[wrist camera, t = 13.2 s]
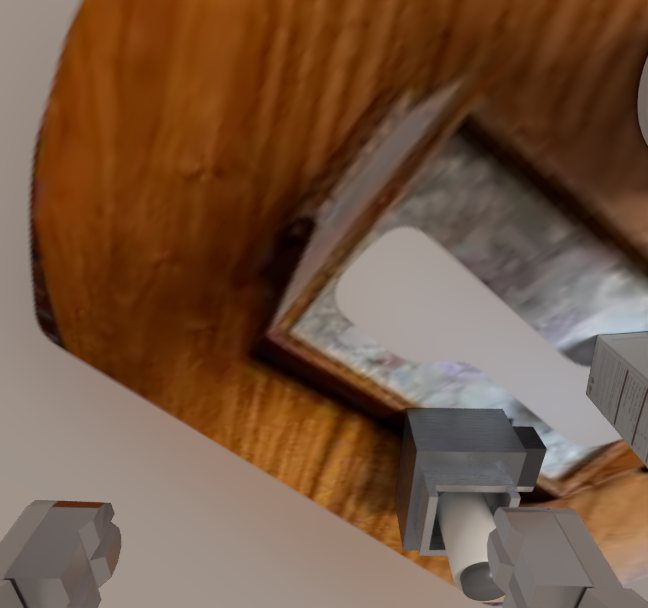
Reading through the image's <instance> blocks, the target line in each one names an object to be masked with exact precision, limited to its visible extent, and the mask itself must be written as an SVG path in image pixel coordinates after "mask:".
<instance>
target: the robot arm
mask: <svg viewBox="0 0 648 608" xmlns="http://www.w3.org/2000/svg"><path fill="white" fill-rule="evenodd" d="M638 118H639V124H640V128H641V132H642V134H643V137H644V139H645V141H646V143H647V145H648V57H647V60H646V62H645V65H644V68H643V72H642V76H641V80H640V85H639V91H638ZM113 516H114V510H113V508H112V505H111V503H101V502H100V503H99V502H77V501H47V500H35V501H34V502H32V503H31V504H30V505H28V506H27V507H26V508H25V510H24V511H23V512H22V514H21V515H20V516H19V518H18V519H17V520H16V522H15V523H14V525H13V526H12V527H11V528H10V530H9V531H8V533H7V534H6V535H5V537H4V538H3V539H2V541H1V542H0V608H98V606H99V604H100V601H101V597H100V592H99V587H101V586H102V585H103V584H104V583H105V582H106V581H107V580H109V579H110V578H111V577H112V575H113V572H114V570H115V567H116V565H117V563H118V559H119V554H120V549H121V534H120V530H119V528H118V527H117V526H116V525H115V524H113V523H112V522H111V520H112V518H113ZM493 520H494V523H495V525H496V528H495V529H494V530H493V531H492V532H490V533H489V537H488V541H487V558H488V563H489V568H490V571H491V574H492V577H493V580H494V583H495V584H496V585H497V586H498V587H499V588H500V589H501V590H502V591H503V592H504V593H505V594H506V595H505V598H504V601H503V604H502V607H503V608H648V602H647V601H646V600H645V599H644V598H642V597H641V596H640V595H639V594H637V593H636V592H635V591H634V590H632V589H627V588H626V589H625V588H623V587H622V585H621V583H620V582H619V580H618V578H617V577H616V575H615V573H614V572H613V570H612V569H611V567H610V565H609V564H608V562H607V560H606V559H605V557H604V555H603V554H602V552H601V550H600V549H599V547H598V546H597V544H596V542H595V541H594V539H593V537H592V536H591V534H590V532H589V531H588V529H587V528H586V526H585V524H584V523H583V521H582V519H581V518H580V516H579V514H578V513H577V512H576V511H575V510H574V509H572V508H545V507H499V508H498V509H497V510H496V511H495V514H494V518H493Z"/></svg>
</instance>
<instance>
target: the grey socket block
mask: <svg viewBox="0 0 648 608" xmlns="http://www.w3.org/2000/svg"><path fill="white" fill-rule="evenodd" d="M546 450H547V449H546V447H545V445H544V444H543V442H542V441H541V439H540V437H539V436H538V434H537V432H536V431H535V429H534V428H533V427H515V426H512V425H511V423H510V422H509V420H508V418H507V416H506V414H505V413H504V411H503V409H445V408H406V414H405V423H404V431H403V439H402V447H401V456H400V464H399V472H398V480H397V489H396V497H395V505H396V511H397V517H398V523H399V529H400V535H401V541H402V547H403V550H419V555H433V556H447V552H446V549H445V545H444V541H443V537H442V533H441V529H440V526H439V522H438V518H437V514H436V508H437V503H438V497H439V496H440V495H441V494H443V493H444V492H482V493H483V494H484V496H485V498H486V500H487V503H488V505H489V508H490V510H491V513H492V515H493V518H494V514H495V511H496V510H497V509H498V508H499V507H518V505H519V502H520V499H521V498H520V496H519V494H518V492H532V490H533V487H535V484H536V481H537V478H538V475H539V472H540V469H541V465H542V462H543V459H544V456H545V453H546Z"/></svg>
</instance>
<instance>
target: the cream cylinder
mask: <svg viewBox="0 0 648 608" xmlns="http://www.w3.org/2000/svg"><path fill="white" fill-rule="evenodd" d="M436 514H437V518H438V522H439V526H440V529H441V533H442V537H443V541H444V545H445V549H446V552H447V556H448V560H449V564H450V568H451V572H452V575H453V579H454V583H455V585H456V586H457V587H458V588H459V589H460V590H462V591H463V592H464V594H465V595H466V596H467V597H469V598H471V599H473V600H478V601H489V600H494V599H497V598H500V597H502V596H504V595H505V593H504V592H503V591H502V590H501V589H500V588H499V587H498V586H497V585H496V584H495V583H494V580H493V577H492V574H491V571H490V568H489V563H488V558H487V541H488V537H489V533H490V532H492V531H493V530H494V529H495V528H496V525H495V523H494V520H493V515H492V513H491V510H490V508H489V505H488V503H487V500H486V498H485V496H484V494H483V493H482V492H444V493H443V494H441V495H440V496H439V497H438V503H437V508H436Z"/></svg>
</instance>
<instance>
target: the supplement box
mask: <svg viewBox="0 0 648 608" xmlns="http://www.w3.org/2000/svg"><path fill="white" fill-rule="evenodd" d="M586 395H587V396H588V397H589V398H590V400H591V401H592V402H593V403H594V404H595V405H596V407H597V408H598V409H599V410H600V412H601V413H602V414H603V415H604V417H605V418H606V419H607V420H608V421H609V422H610V424H611V425H612V426H613V427H614V428H615V430H616V431H617V432H618V433H619V434H620V436H621V437H622V438H623V439H624V440H625V442H626V443H627V444H628V445H629V446H630V447H631V449H632V450H633V451H634V452H635V453H636V455H637V456H638V457H639V458H640V459H641V460H642V462H643V463H644V464H645V465H646V466H647V468H648V332H641V333H628V334H613V335H598V336H597V340H596V344H595V350H594V354H593V359H592V364H591V369H590V375H589V380H588V386H587V391H586Z"/></svg>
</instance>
